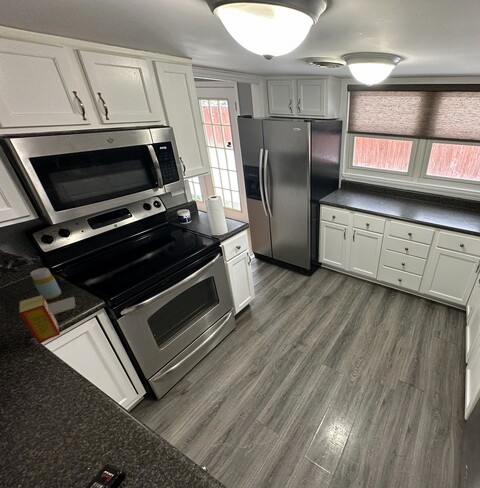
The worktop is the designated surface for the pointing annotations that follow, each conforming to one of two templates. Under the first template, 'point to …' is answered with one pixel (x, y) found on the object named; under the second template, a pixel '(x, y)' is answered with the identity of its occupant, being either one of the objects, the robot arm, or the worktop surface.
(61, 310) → the mat
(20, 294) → the worktop surface
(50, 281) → the bottle
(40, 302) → the baking soda box
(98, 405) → the worktop surface
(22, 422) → the worktop surface
